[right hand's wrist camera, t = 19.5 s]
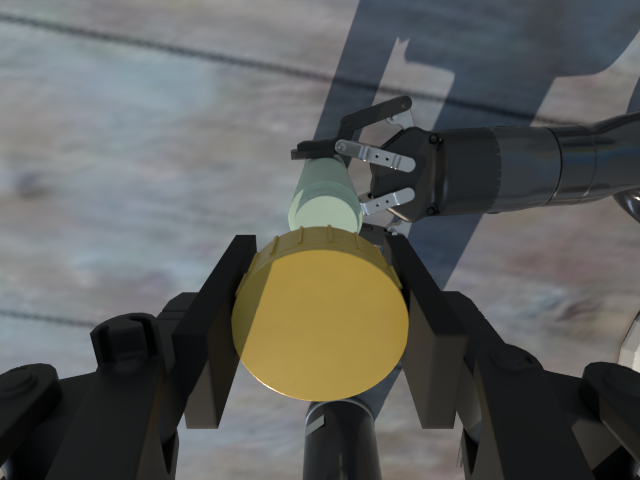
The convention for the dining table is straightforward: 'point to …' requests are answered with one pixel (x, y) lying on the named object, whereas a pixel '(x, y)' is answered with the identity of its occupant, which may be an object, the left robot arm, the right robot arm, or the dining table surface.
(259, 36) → the dining table surface
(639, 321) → the wall clock
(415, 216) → the left robot arm
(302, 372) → the lid
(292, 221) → the pale green tube
